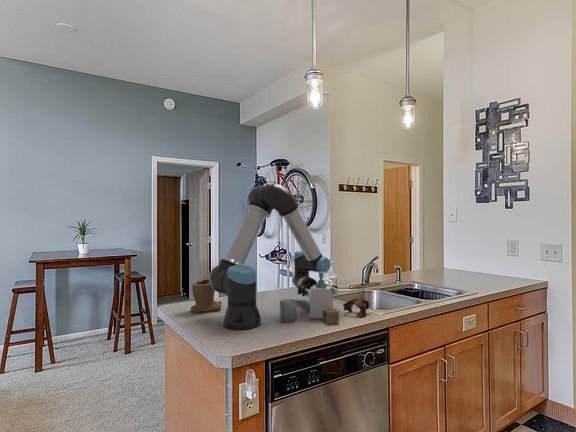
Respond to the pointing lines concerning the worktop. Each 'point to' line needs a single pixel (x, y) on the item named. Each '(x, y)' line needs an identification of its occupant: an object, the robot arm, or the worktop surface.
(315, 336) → the worktop surface
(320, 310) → the soap bottle
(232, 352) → the worktop surface
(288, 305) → the slate grey tub
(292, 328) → the worktop surface
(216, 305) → the brown boot
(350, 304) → the brown arched figurine
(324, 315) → the walnut block
